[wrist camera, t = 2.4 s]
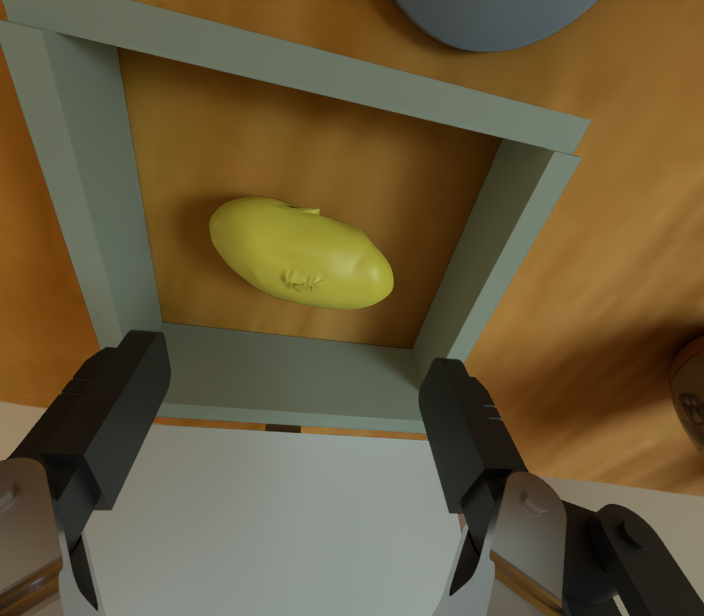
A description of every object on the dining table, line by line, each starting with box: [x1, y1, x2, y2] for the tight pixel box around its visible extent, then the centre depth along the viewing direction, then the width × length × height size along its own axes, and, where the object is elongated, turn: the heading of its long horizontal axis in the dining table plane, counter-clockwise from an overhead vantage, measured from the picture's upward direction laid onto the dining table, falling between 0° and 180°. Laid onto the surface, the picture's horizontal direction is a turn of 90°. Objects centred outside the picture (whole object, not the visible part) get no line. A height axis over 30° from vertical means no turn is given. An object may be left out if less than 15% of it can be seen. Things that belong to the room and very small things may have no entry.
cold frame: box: [0, 0, 592, 434], centre depth 13 cm, size 14×16×5 cm
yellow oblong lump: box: [209, 196, 394, 309], centre depth 14 cm, size 4×8×4 cm, turn 61°
